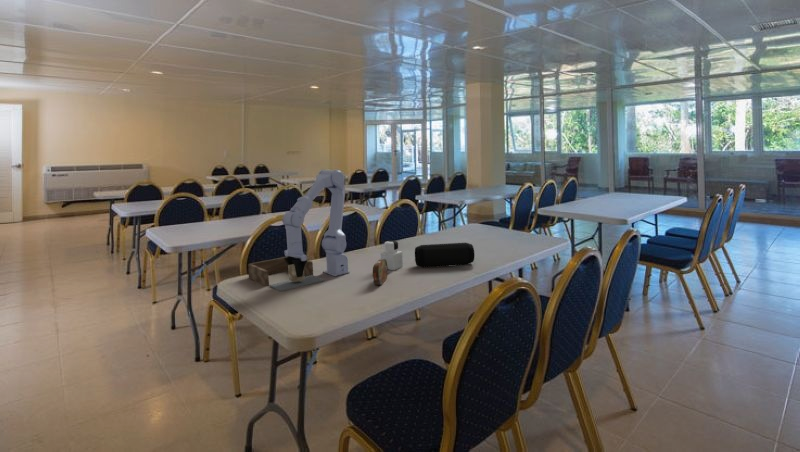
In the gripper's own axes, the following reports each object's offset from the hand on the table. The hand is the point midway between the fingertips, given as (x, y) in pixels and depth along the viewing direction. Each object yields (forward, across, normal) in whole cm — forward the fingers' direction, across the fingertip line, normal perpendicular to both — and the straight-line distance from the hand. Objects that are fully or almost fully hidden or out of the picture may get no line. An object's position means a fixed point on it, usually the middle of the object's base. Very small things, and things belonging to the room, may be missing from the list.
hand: (296, 275), depth 173 cm
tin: (+4, +22, +25) cm, 34 cm away
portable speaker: (+4, +23, +61) cm, 65 cm away
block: (+2, 0, 0) cm, 2 cm away
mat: (+3, 0, 0) cm, 3 cm away
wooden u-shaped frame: (+3, -14, 0) cm, 14 cm away
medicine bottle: (+4, +9, +42) cm, 43 cm away
